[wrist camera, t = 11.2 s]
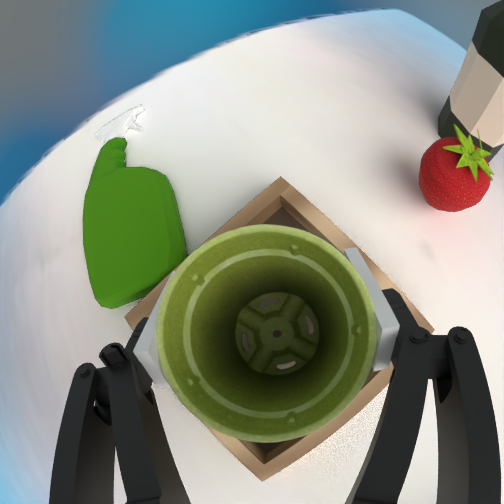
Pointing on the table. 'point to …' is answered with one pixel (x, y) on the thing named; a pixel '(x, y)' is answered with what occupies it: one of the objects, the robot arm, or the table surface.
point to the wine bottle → (480, 87)
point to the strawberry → (454, 173)
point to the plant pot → (266, 333)
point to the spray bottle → (128, 222)
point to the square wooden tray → (315, 222)
